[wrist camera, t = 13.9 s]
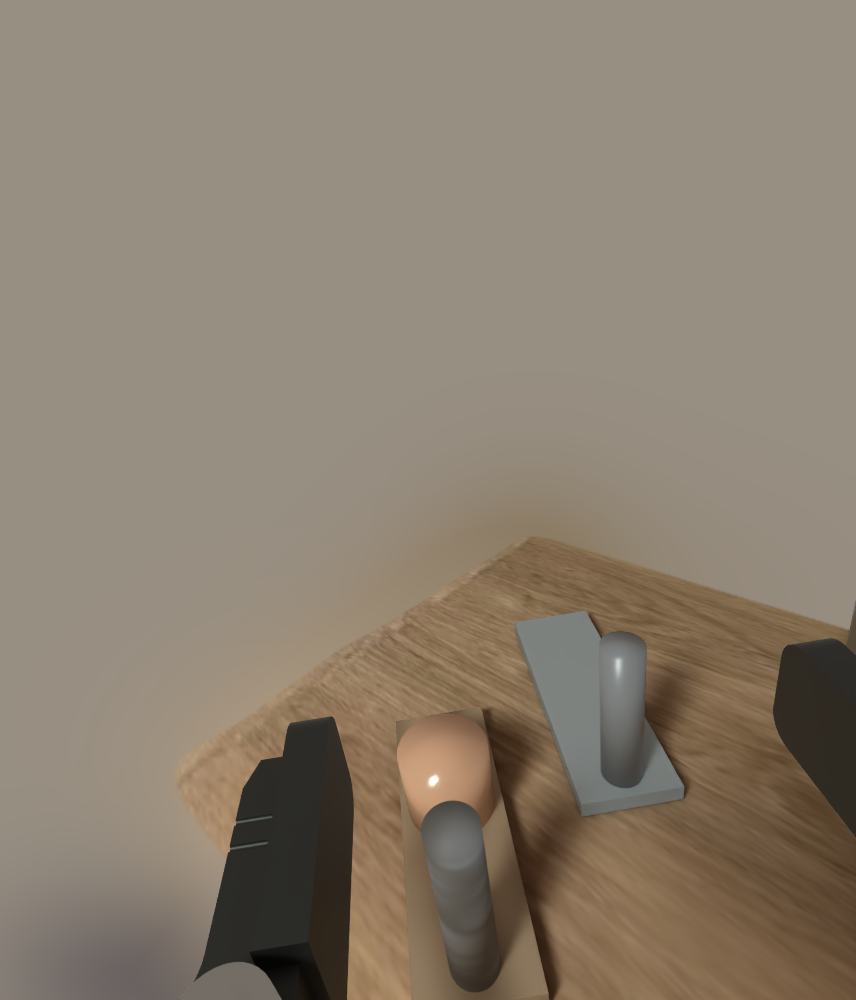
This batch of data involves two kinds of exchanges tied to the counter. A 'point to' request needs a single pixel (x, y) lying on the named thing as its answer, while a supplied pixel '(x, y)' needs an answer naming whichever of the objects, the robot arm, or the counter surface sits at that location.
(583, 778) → the grey peg stand
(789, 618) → the counter surface
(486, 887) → the peg on wooden base
